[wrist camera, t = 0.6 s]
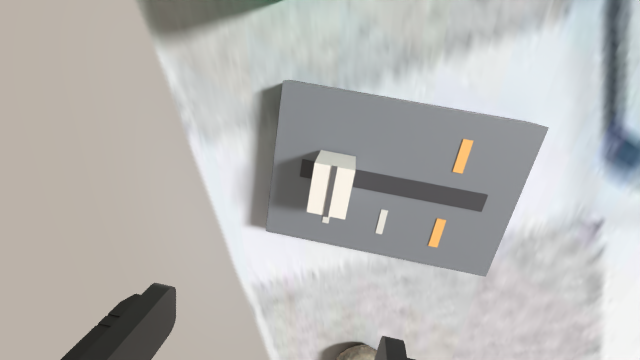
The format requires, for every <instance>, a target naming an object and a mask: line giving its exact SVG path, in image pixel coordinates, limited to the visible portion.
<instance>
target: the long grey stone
mask: <svg viewBox="0 0 640 360" xmlns="http://www.w3.org/2000/svg"><path fill="white" fill-rule="evenodd" d="M376 353H377V350H375V349H373V348H371V347H370V346H368V345H359V346H354V347H350V348H348V349H346V350H345V351H344V352H342V353H340V355H339V356H338V357H337V358H336V360H374V359H375V356H376Z"/></svg>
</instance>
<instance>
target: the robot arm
mask: <svg viewBox="0 0 640 360" xmlns="http://www.w3.org/2000/svg"><path fill="white" fill-rule="evenodd" d="M175 319H176V289H175V287H172V286H167V285H163V284H159V283H154V284H152V285H151V286H150V287H149V288H148V289H147V290H146V291H145V292H144V293H143V294H142V295H139V294H134V295H133V296H130V297H129V298H127V299H125V300H123V301H121V302H120V303H119V304H118V305H117V306H116V307H115V308H114V309H113V310H112V311H110V312H109V314H108V316H105V317H104V318H103V319H102V320H101V321H100V322H99V323H98V325H97V326H95V327H94V328H93V329H92V330H91V331H90V332H89V333H88V334H87V335H86V336H85V337H83V338H82V340H80V341H79V342H78V343H77V344H76V345H75V346H74V347H73V348H72V349H71V350H70V351H69V352H68V353H67V354H66V355H65V356H64V357H63V358H62V359H61V360H151V359H152V358H153V356H154V355H155V354H156V352H157V351H158V349H159V348H160V347H161V345H162V344H163V342H164V341H165V340H166V338H167V337H168V336H169V334H170V332H171V331H172V328H173V326H174V323H175ZM374 360H414V359H410V358H407V355H406V349H405V344H404V341H403V340H399V339H394V338H390V337H386V336H382V338H381V341H380V344H379V347H378V350H377V353H376V356H375V359H374Z"/></svg>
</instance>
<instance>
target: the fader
mask: <svg viewBox="0 0 640 360" xmlns="http://www.w3.org/2000/svg"><path fill="white" fill-rule="evenodd" d="M355 169H356V156H350V155H345V154H340V153H334V152H329V151H324V150H321V151H320V153H319V155H318V157H317V159H316V161H315V163H314V169H313V175H312V182H311V188H310V194H309V200H308V206H307V212H309V213H314V214H319V215H323V217H328V216H329V217H334V218H339V219H344V220H345V217H346V213H347V208H348V203H349V198H350V194H351V189H352V184H353V180H354V175H355Z"/></svg>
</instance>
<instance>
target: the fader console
mask: <svg viewBox="0 0 640 360" xmlns="http://www.w3.org/2000/svg"><path fill="white" fill-rule="evenodd" d="M548 128H549V127H545V126H542V125H538V124H534V123H531V122H526V121H521V120H515V119H509V118H504V117H498V116H492V115H486V114H481V113H475V112H469V111H464V110H458V109H452V108H447V107H441V106H435V105H430V104H424V103H418V102H413V101H407V100H401V99H396V98H390V97H384V96H379V95H373V94H367V93H361V92H356V91H350V90H344V89H339V88H333V87H327V86H322V85H316V84H310V83H305V82H299V81H293V80H284V81H283V84H282V93H281V102H280V110H279V119H278V128H277V137H276V145H275V154H274V163H273V172H272V180H271V189H270V198H269V207H268V215H267V224H266V231H268V232H273V233H277V234H282V235H287V236H292V237H297V238H302V239H306V240H311V241H316V242H321V243H326V244H331V245H335V246H340V247H345V248H350V249H355V250H360V251H364V252H369V253H374V254H379V255H384V256H389V257H393V258H398V259H403V260H408V261H413V262H418V263H422V264H427V265H432V266H437V267H442V268H447V269H451V270H456V271H461V272H466V273H471V274H475V275H480V276H485V277H486V275H487V273H488V270H489V268H490V265H491V263H492V261H493V258H494V256H495V254H496V251H497V249H498V247H499V244H500V242H501V239H502V237H503V235H504V232H505V230H506V228H507V225H508V223H509V220H510V218H511V216H512V213H513V211H514V209H515V206H516V204H517V202H518V199H519V197H520V194H521V192H522V190H523V187H524V185H525V183H526V180H527V178H528V175H529V173H530V171H531V168H532V166H533V164H534V161H535V159H536V157H537V154H538V152H539V149H540V147H541V145H542V142H543V140H544V138H545V135H546V133H547V131H548ZM321 150H324V151H329V152H334V153H340V154H345V155H350V156H356V169H355V175H354V180H353V184H352V189H351V194H350V198H349V203H348V208H347V213H346V217H345V220H344V219H339V218H334V217H329V216H328V217H323V215H319V214H314V213H309V212H307V206H308V200H309V194H310V188H311V182H312V175H313V169H314V163H315V161H316V159H317V157H318V155H319V153H320V151H321Z"/></svg>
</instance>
